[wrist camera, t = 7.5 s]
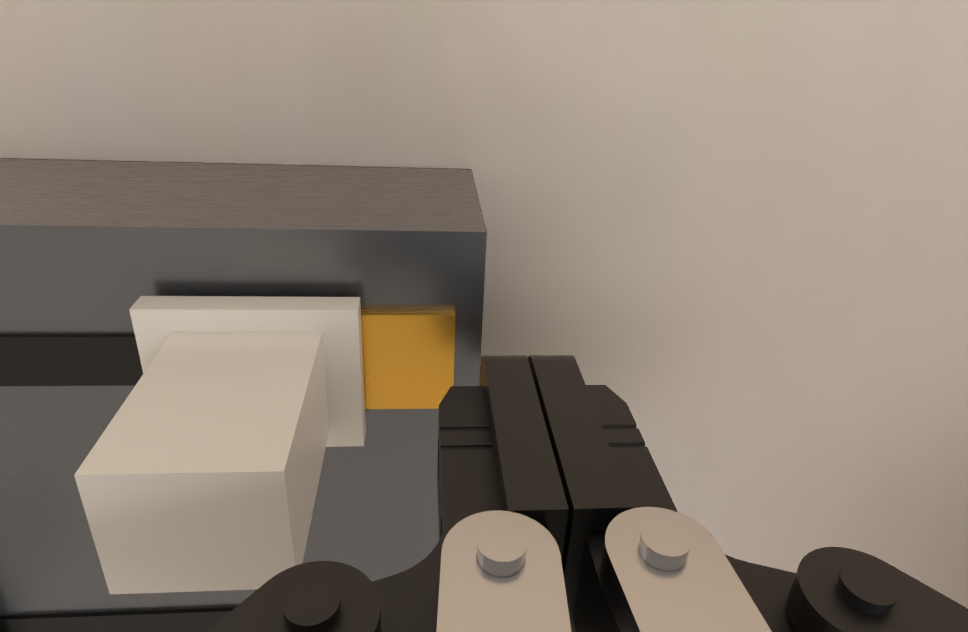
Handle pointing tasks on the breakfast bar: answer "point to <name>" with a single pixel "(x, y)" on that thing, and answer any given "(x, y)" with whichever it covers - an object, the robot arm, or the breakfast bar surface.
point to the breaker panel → (221, 272)
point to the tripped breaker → (223, 439)
